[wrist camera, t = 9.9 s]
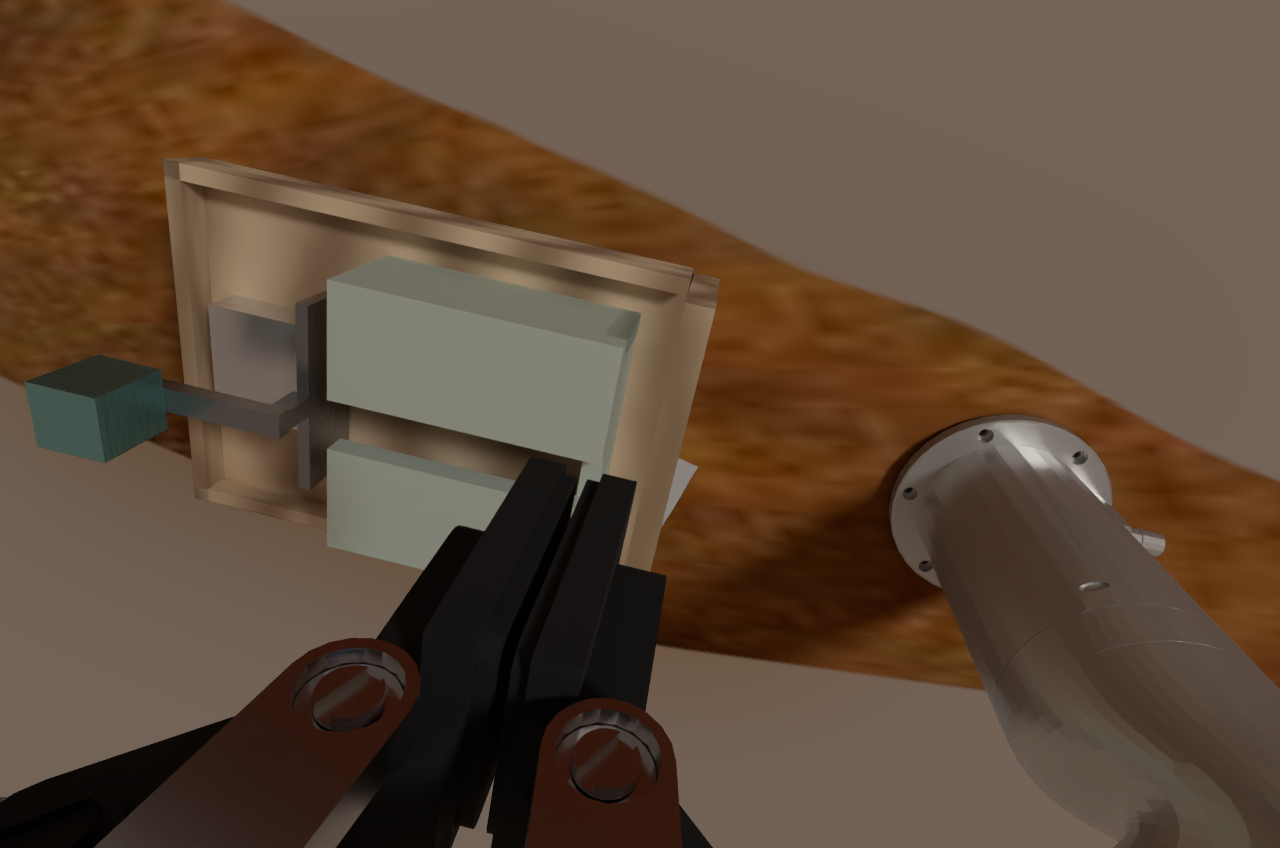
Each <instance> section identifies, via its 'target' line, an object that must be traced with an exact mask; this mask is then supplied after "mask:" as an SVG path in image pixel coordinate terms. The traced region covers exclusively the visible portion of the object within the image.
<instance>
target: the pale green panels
mask: <svg viewBox="0 0 1280 848" xmlns="http://www.w3.org/2000/svg"><path fill="white" fill-rule="evenodd" d="M640 317H641V313H639V312H635V311H630V310H626V309H621V308H617V307H613V306H608V305H604V304H600V303H595V302H591V301H587V300H582V299H578V298H574V297H569V296H565V295H561V294H556V293H552V292H547V291H543V290H539V289H534V288H530V287H526V286H521V285H517V284H513V283H508V282H504V281H500V280H495V279H491V278H487V277H482V276H478V275H474V274H469V273H465V272H460V271H456V270H452V269H447V268H443V267H439V266H434V265H430V264H426V263H421V262H417V261H413V260H408V259H404V258H400V257H395V256H391V255H388V256H385V257H383V258H380V259H377V260H375V261H372V262H370V263H367V264H365V265H362V266H360V267H357V268H354V269H352V270H349V271H347V272H344V273H342V274H339V275H337V276H334V277H331V278H329V279H327V400H329V401H333V402H338V403H342V404H346V405H350V406H354V407H359V408H363V409H367V410H371V411H375V412H379V413H384V414H388V415H392V416H396V417H400V418H405V419H409V420H413V421H417V422H421V423H425V424H430V425H434V426H438V427H442V428H446V429H450V430H455V431H459V432H463V433H467V434H471V435H476V436H480V437H484V438H488V439H492V440H496V441H501V442H505V443H509V444H513V445H517V446H522V447H526V448H530V449H534V450H538V451H542V452H547V453H551V454H555V455H559V456H563V457H567V458H572V459H576V460H580V461H582V467H581V472H580V478H579V483H578V489H577V494H576V495H575V497H574V502H573V508H572V513H571V516H572V514H573V512H574V509H575V507H576V505H577V502H578V500H579V498H580V495H581V493H582V490H583V488H584V486H585V483H586V481H587V479H589V480H593V481H597V482H600V480H601V477H602V475H603V474H608V475H609V471H610V466H611V461H612V456H613V451H614V446H615V441H616V436H617V431H618V426H619V421H620V416H621V411H622V406H623V401H624V396H625V392H626V387H627V382H628V377H629V372H630V367H631V362H632V357H633V352H634V347H635V342H636V337H637V332H638V327H639V322H640ZM514 483H515V480H511V479H506V478H502V477H498V476H494V475H490V474H486V473H482V472H477V471H473V470H469V469H465V468H461V467H457V466H453V465H448V464H444V463H440V462H436V461H432V460H428V459H424V458H419V457H415V456H411V455H407V454H403V453H399V452H395V451H390V450H386V449H382V448H378V447H374V446H370V445H366V444H361V443H357V442H353V441H349V440H345V439H341V438H340V439H339V440H338V441H336V442H335V443H334V444H333V445H331V446H330V447H329V448H328V449H327V546H330V547H334V548H337V549H342V550H346V551H349V552H354V553H358V554H362V555H366V556H370V557H374V558H378V559H382V560H386V561H390V562H394V563H398V564H402V565H406V566H410V567H414V568H418V569H422V570H424V569H425V568H426V567H427V565H428V564H429V562H430V561H431V559H432V558H433V557H434V555H435V554H436V552H437V551H438V549H439V548H440V547H441V545H442V544H443V542H444V541H445V539H446V538H447V537H448V535H449V534H450V532H451V531H452V530H453V529H454V528H455V527H456V526H458V525H461V526H466V527H470V528H474V529H478V530H482V531H485V530H486V528H487V526H488V525H489V523H490V522H491V520H492V518H493V517H494V515H495V514H496V512H497V510H498V509H499V507H500V505H501V504H502V502H503V501H504V499H505V497H506V496H507V494H508V492H509V491H510V489H511V488H512V486H513V484H514Z"/></svg>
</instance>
